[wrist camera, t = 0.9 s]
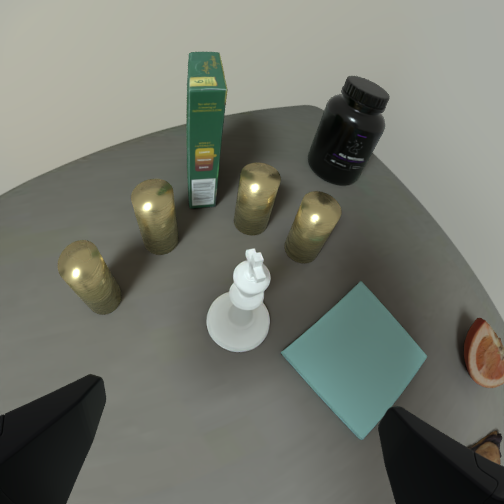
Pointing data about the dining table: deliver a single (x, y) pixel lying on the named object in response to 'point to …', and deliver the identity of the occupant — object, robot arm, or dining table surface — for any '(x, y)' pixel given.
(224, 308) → the chess piece
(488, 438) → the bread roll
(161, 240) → the cylinder
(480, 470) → the robot arm
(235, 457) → the dining table surface
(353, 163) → the supplement bottle
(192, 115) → the coffee box
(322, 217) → the cylinder
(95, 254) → the cylinder
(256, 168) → the cylinder
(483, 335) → the fruit slice
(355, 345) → the felt pad
